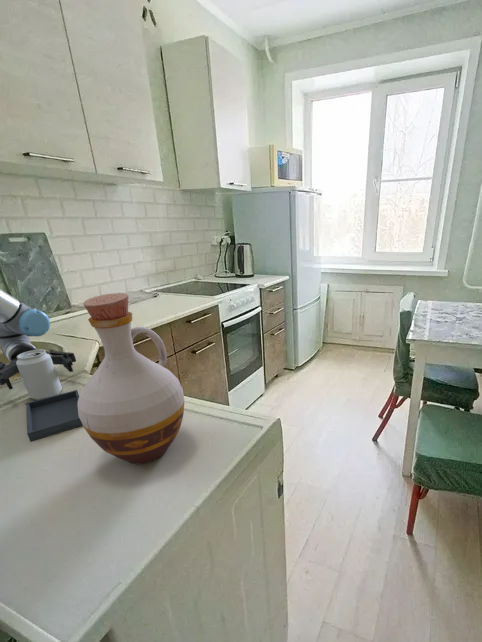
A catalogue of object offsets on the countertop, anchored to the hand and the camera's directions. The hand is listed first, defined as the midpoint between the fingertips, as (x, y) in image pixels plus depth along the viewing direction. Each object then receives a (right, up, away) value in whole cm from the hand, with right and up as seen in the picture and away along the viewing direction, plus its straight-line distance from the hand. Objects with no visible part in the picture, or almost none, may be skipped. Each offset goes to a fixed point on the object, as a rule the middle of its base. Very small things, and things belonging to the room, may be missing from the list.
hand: (41, 375), depth 90 cm
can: (-1, -5, +4) cm, 7 cm away
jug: (+36, -15, -20) cm, 44 cm away
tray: (+9, -10, -7) cm, 15 cm away
